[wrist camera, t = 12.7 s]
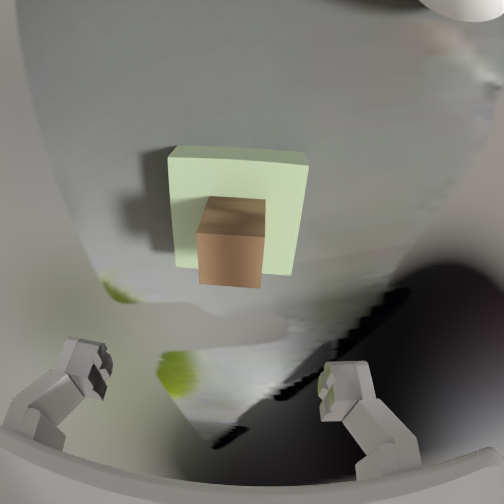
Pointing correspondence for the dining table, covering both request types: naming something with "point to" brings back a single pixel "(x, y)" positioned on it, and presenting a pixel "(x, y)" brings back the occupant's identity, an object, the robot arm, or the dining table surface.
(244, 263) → the walnut block
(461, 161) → the dining table surface
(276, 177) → the base box
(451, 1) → the ornament
